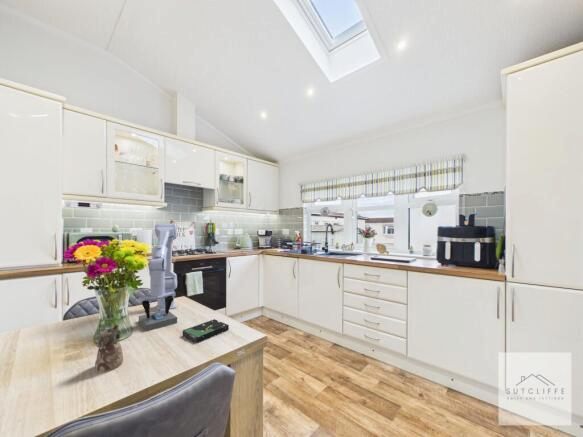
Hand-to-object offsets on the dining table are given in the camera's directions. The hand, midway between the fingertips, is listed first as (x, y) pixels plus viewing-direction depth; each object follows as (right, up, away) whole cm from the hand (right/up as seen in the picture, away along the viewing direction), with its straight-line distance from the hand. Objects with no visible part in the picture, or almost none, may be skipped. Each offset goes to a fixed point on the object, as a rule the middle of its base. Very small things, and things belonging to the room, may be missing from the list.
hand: (157, 315), depth 113 cm
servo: (0, -3, 0) cm, 3 cm away
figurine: (+3, -3, -34) cm, 34 cm away
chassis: (0, -3, 0) cm, 3 cm away
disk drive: (+25, -3, -11) cm, 28 cm away
